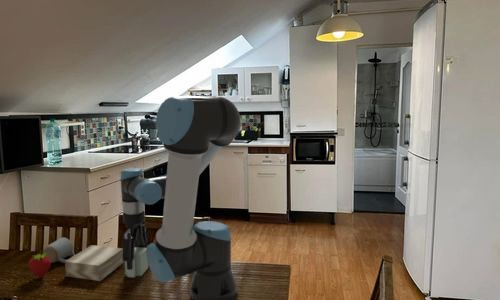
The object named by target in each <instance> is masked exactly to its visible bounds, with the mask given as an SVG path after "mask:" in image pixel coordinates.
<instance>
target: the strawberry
mask: <svg viewBox="0 0 500 300" xmlns="http://www.w3.org/2000/svg"><path fill="white" fill-rule="evenodd" d="M41 252H42V251H40V252H39V253H38V254H36V255H35V254H34V255H33V257H32V258H31V259H30V260H29V262H28V267H29V269H30V271H32V273H33V274H34V275H35V276H37V277H38V278H41V279H43V277H45V275H46V274H47V273H48V271H49V269H50V268H51V264H52V263H51V260H50V258H48V257H47V255H46V254H48V253H46V254H43V253H42V254H41Z"/></svg>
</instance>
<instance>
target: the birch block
mask: <svg viewBox="0 0 500 300" xmlns="http://www.w3.org/2000/svg"><path fill="white" fill-rule="evenodd" d="M65 260H66V261H65V263H64V266H65V268H64V269H65V277H70V278H77V279H82V280H83V279H84V280H90V281H91V280H92V281H97V282H101V281H102V280H104V279H105V278H106V277H107V276H109V275H110V274H111V273H113V271H115V270H116V269H117V268H118V267H120V266H122V264H125V261H123V247H122V248H121V247H113V246H102V245H101V246H100V245H93V244H91V245H89V246H88V247H86V248H84V249H82V251H80V252H78V253H76V254H75V256H72V257H70V258H68V259H65Z"/></svg>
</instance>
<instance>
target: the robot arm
mask: <svg viewBox="0 0 500 300" xmlns="http://www.w3.org/2000/svg"><path fill="white" fill-rule="evenodd" d="M155 129H156V136H157V138H158V140H159V141H160V142H161V143H162V145H163V149H165V150H166V152H167V153H168V156H167V157H168V158H167V167H166V168H167V169H166V175H162V176H156V177H150V178H145V177H144V172H143V169H142V168H141V167H129V168H124V169H122V170H121V171H120V190H121V206H122V207H121V209H122V212H123V213H122V223H123V224H124V225H126V232H123V233H122V236H121V237H122V249H123V261H124V262H125V261H126V262H127V275H126V277H127V278H136V276H135V259H133V257H134V249H135V247H136V244H137V247H138V248H146V256H147V261H148V268H149V269H150V271H151V273H152V275H153V277H154V278H155V280H156V281H158V282H160V283H162V284H165V283H169V282H171V281H175V280H177V279H180V278H182V277H185V276H188V275H190V274H193V276H192V279H191V282H190V286H189V295H190V298H191V299H192V300H232V299H234V297H235V296H236V294H237V282H236V279H235V276H234V273H233V271H232V258H231V257H232V250H231V249H232V245H231V244H232V237H231V235H232V234H231V228H230V227H229V226H228V225H227V224H225V223H222V222H218V221H214V220H213V221H212V220H211V221H210V220H208V221H199V222H196V223H195V224H194V220H195V219H194V218H195V214H196V213H195V211H196V204H197V198H198V197H197V196H198V190H199V189H198V187H199V179H200V175H201V174H202V173H203V172H204V171H205V169H206V168H207V167H208V166H209V164H210V163H211V162H212V161H213V159H215V157H216V156H217V155H218V153H219V152H221V150H222V149H223V148H225V147H229V146H230V145H231V143H232V142H233V141H234V140H235V138H236V137H237V135H238V133H239V132H240V129H241V116H240V112H239V110H238V108H237V106H236V105H235V104H234V103H233V102H232V101H231V100H229V99H227V98H225V97H222V96H216V95H214V96H212V95H211V96H205V95H204V96H202V95H200V96H198V95H180V96H170V97H168V98H165V100H164V101H162V102H161V104H160V106H159V107H158V110H157V112H156V117H155ZM161 199H164V201H163V212H162V213H163V214H162V224H161V228H159V229H158V230H157V232H156V233H155V241H154V242H151V243H149V244H148V237H147V236H148V235H147V228H146V213H145V212H146V211H145V206H146V205H154V204H156V203H157V202H158V201H160V200H161Z"/></svg>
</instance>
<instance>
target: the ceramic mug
mask: <svg viewBox="0 0 500 300" xmlns="http://www.w3.org/2000/svg"><path fill="white" fill-rule="evenodd" d="M46 253H48V254H46ZM42 254H46V255H47V257H48V258H50V260H51V264H54V263H57V262H60V263H63V264H65V261H66V260H67V259H65V258H68V256H70V255H71V256H72V257H73V256H75V255H76V254H75V252H74V245H73V243H72V241H71V240H70V239H68V238H67V237H60V238H59V239H57V240H55V241H54V242H51V243H50V244H48V245H47V246H46V247H45V248H44V249H43V252H42Z"/></svg>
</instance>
